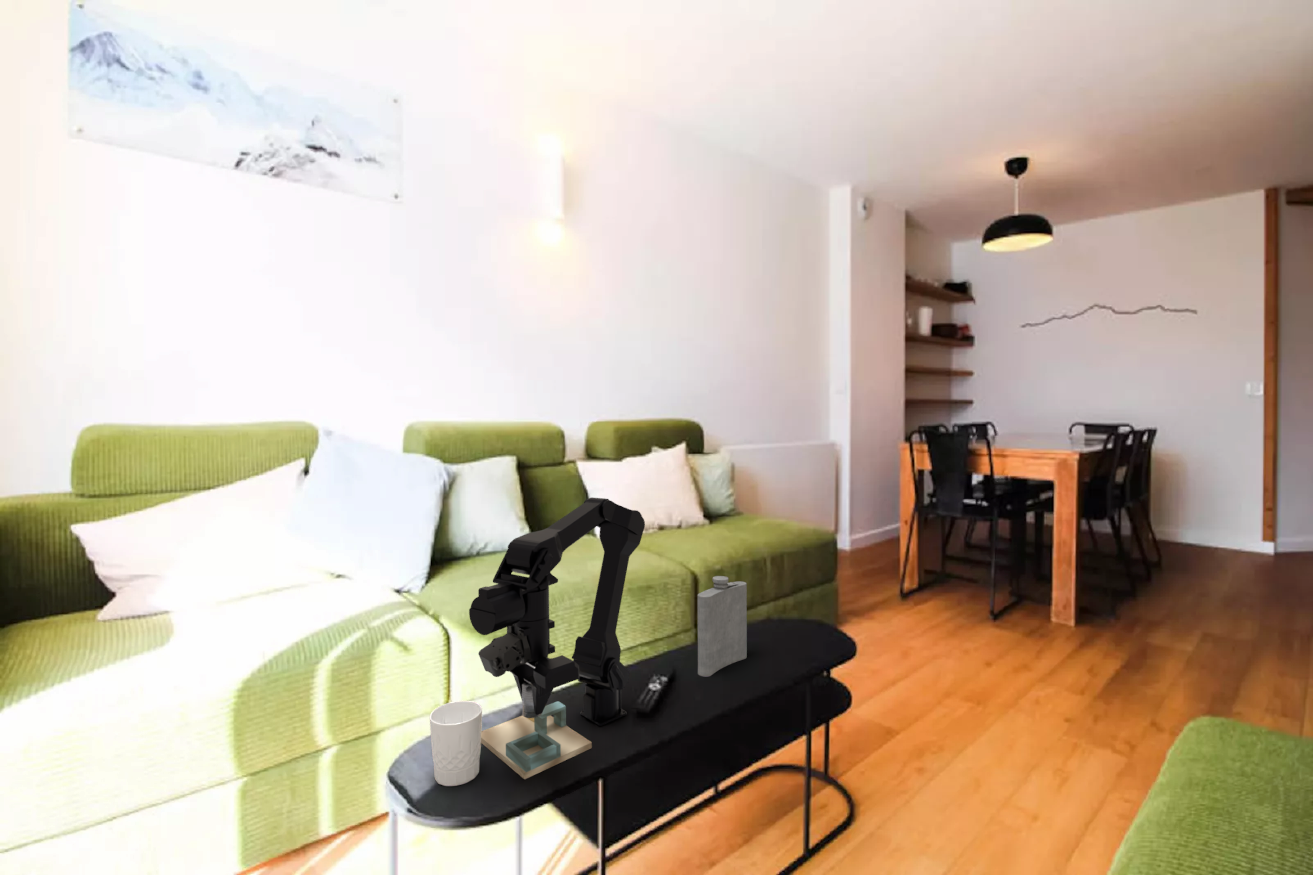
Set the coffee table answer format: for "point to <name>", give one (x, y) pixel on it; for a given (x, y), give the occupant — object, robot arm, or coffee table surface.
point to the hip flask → (722, 625)
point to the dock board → (535, 741)
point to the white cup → (456, 742)
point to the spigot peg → (528, 701)
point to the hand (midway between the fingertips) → (532, 710)
